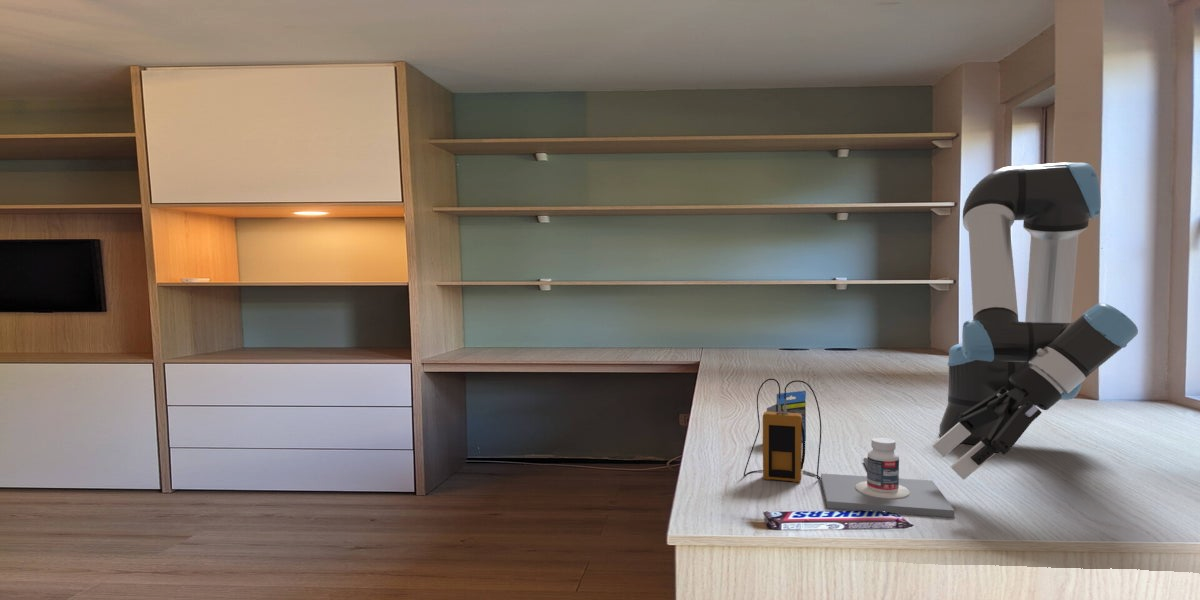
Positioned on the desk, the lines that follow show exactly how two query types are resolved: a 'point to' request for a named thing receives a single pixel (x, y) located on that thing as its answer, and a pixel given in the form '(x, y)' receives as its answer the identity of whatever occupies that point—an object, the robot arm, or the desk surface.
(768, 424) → the multimeter
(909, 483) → the board
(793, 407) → the label tape cartridge
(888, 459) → the pill bottle
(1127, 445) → the desk surface
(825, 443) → the desk surface
